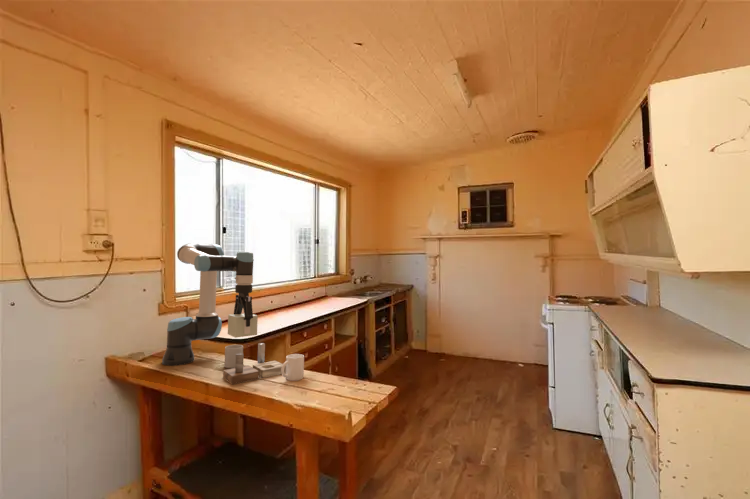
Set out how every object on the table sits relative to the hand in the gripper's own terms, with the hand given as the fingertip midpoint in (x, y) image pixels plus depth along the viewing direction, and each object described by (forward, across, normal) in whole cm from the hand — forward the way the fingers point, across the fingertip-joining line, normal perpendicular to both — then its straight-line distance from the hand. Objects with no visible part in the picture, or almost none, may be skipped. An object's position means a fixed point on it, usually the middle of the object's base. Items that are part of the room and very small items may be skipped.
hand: (242, 331), depth 161 cm
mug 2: (+22, +16, +18) cm, 32 cm away
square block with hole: (+22, 0, +14) cm, 26 cm away
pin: (+22, -11, +14) cm, 28 cm away
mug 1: (+22, -23, +6) cm, 32 cm away
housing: (+1, 0, 0) cm, 1 cm away
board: (+22, 0, 0) cm, 22 cm away
